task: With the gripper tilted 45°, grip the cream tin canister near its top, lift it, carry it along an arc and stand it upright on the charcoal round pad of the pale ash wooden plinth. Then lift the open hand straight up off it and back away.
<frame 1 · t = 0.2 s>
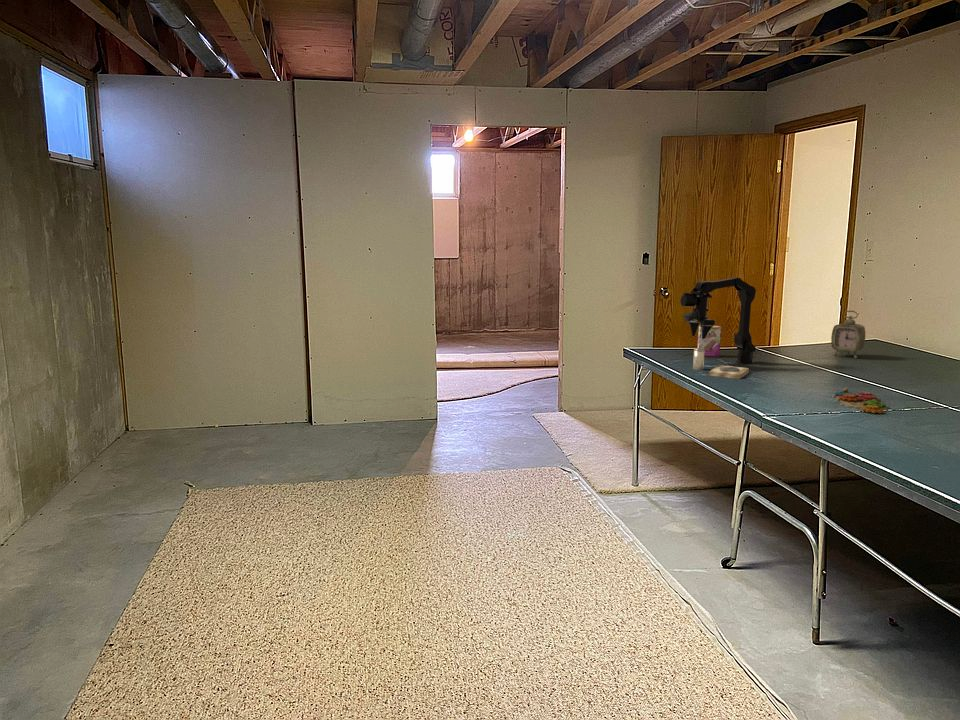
hand: (698, 337, 350), 14 cm above the table, tool pointing down, fingers open, 9 cm apart
tabletop clock: (846, 357, 375), on the table
plinth: (729, 373, 331), on the table
candy bar box: (708, 356, 378), on the table
canister: (698, 369, 343), on the table
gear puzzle: (860, 406, 274), on the table
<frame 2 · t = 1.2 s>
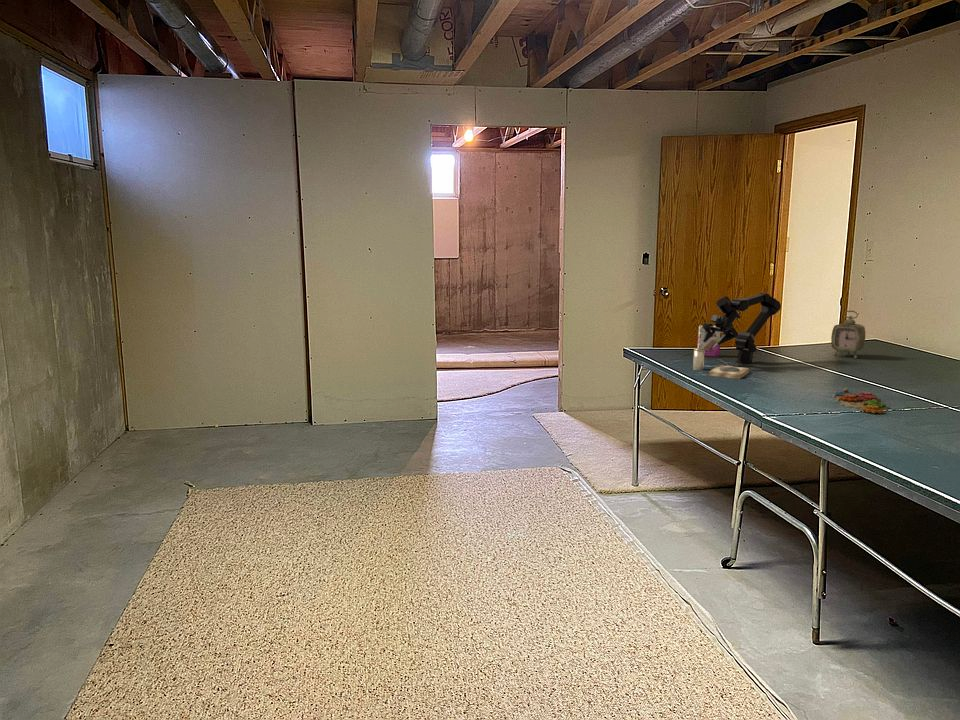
hand: (710, 343, 344), 12 cm above the table, tool tilted 45°, fingers open, 9 cm apart
nothing on the table moved.
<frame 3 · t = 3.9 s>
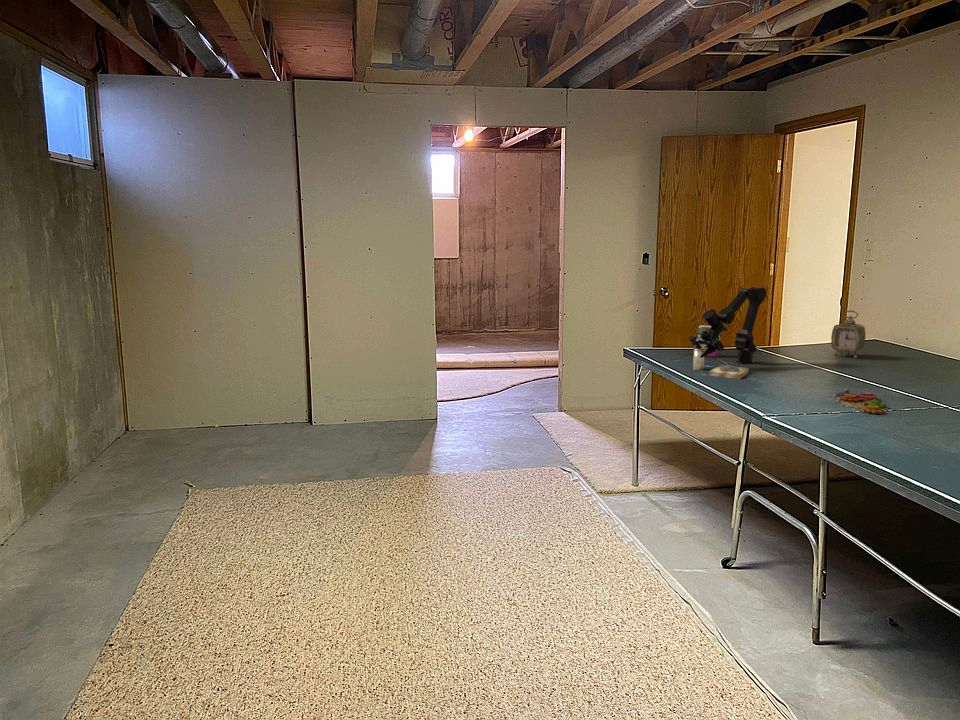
hand: (696, 356, 341), 7 cm above the table, tool tilted 45°, fingers closed on canister, 5 cm apart
canister: (698, 369, 343), on the table, touching gripper
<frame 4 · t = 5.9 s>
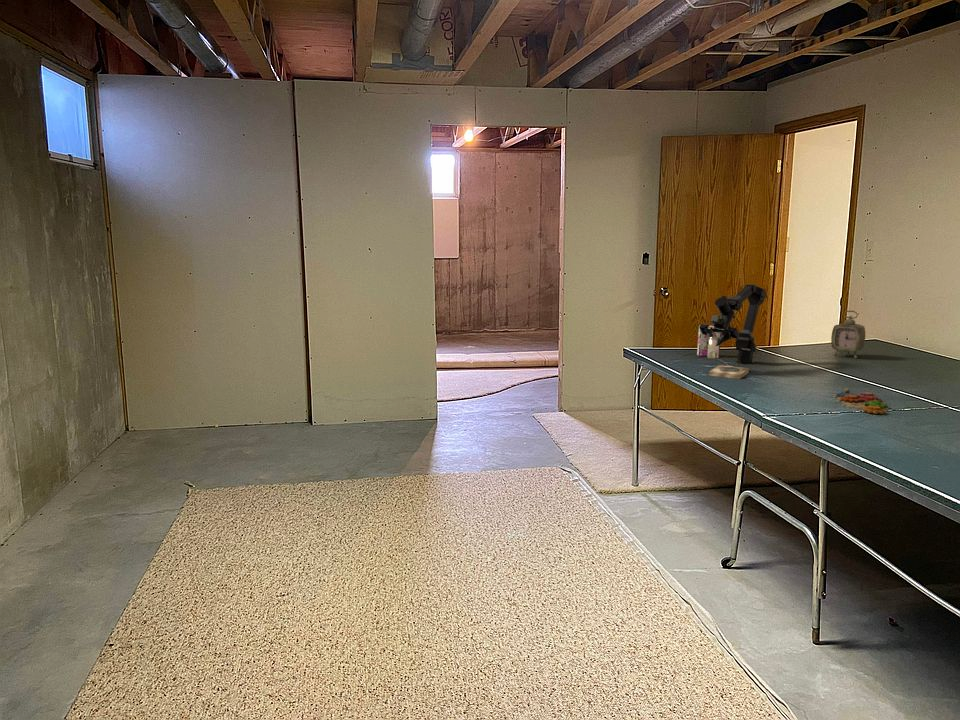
hand: (712, 344, 333), 13 cm above the table, tool tilted 45°, fingers closed on canister, 5 cm apart
canister: (712, 357, 335), point 7 cm above the table, touching gripper
when the fingers open (10 cm above the table, at t = 8.1 s): canister stays where it is, resting on plinth.
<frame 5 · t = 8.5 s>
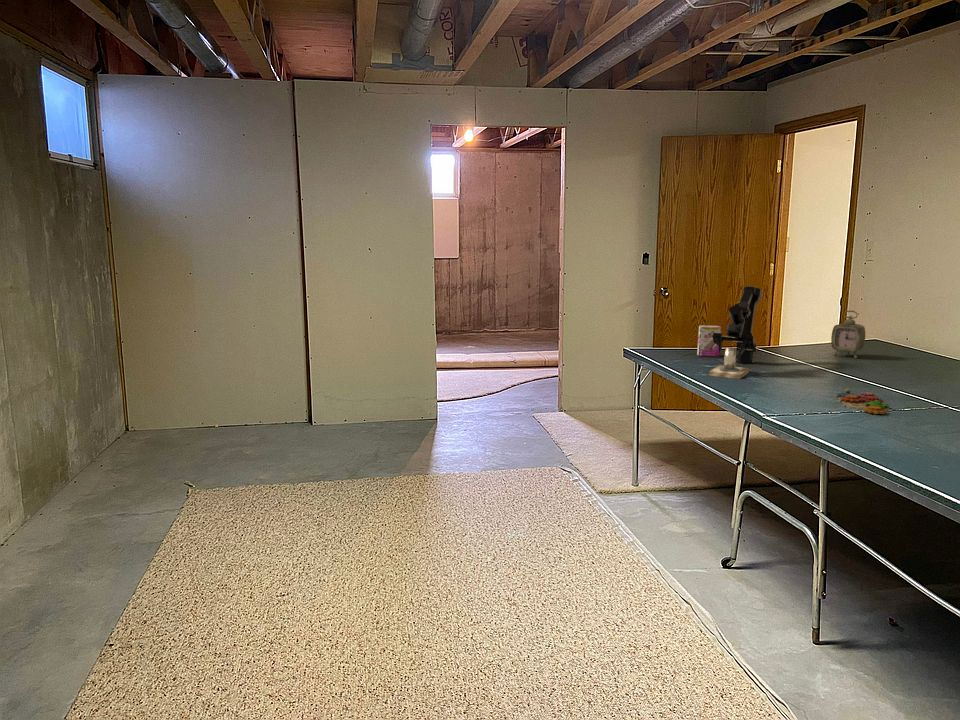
hand: (729, 353, 328), 10 cm above the table, tool tilted 45°, fingers open, 9 cm apart
canister: (729, 368, 331), point 3 cm above the table, touching plinth
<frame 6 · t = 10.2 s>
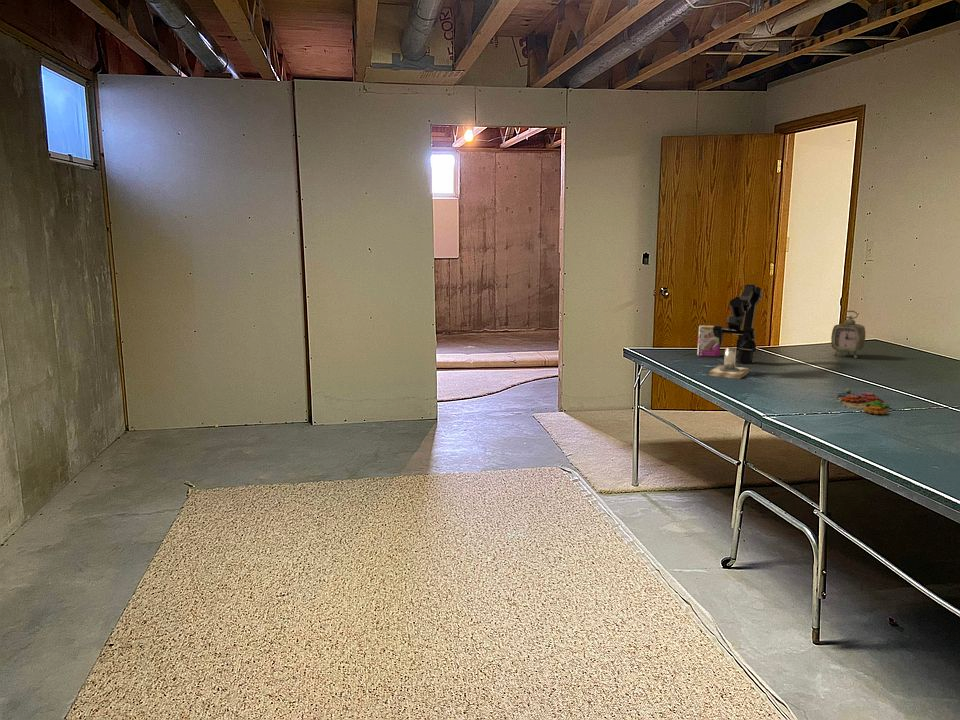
hand: (730, 346, 328), 14 cm above the table, tool tilted 45°, fingers open, 9 cm apart
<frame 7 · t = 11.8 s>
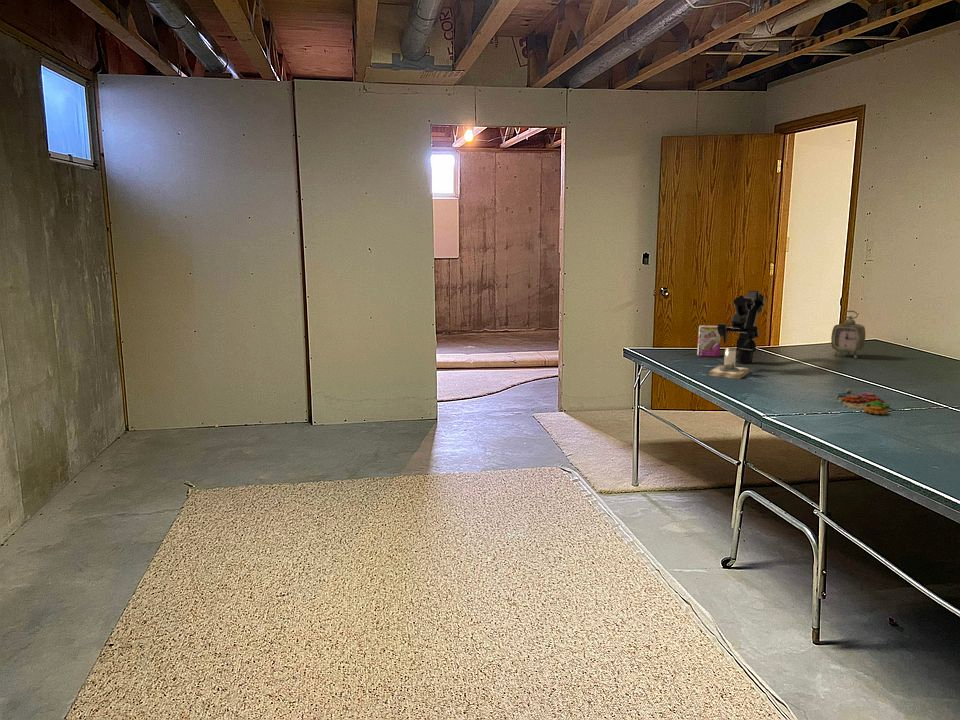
hand: (734, 344, 334), 13 cm above the table, tool tilted 45°, fingers open, 9 cm apart
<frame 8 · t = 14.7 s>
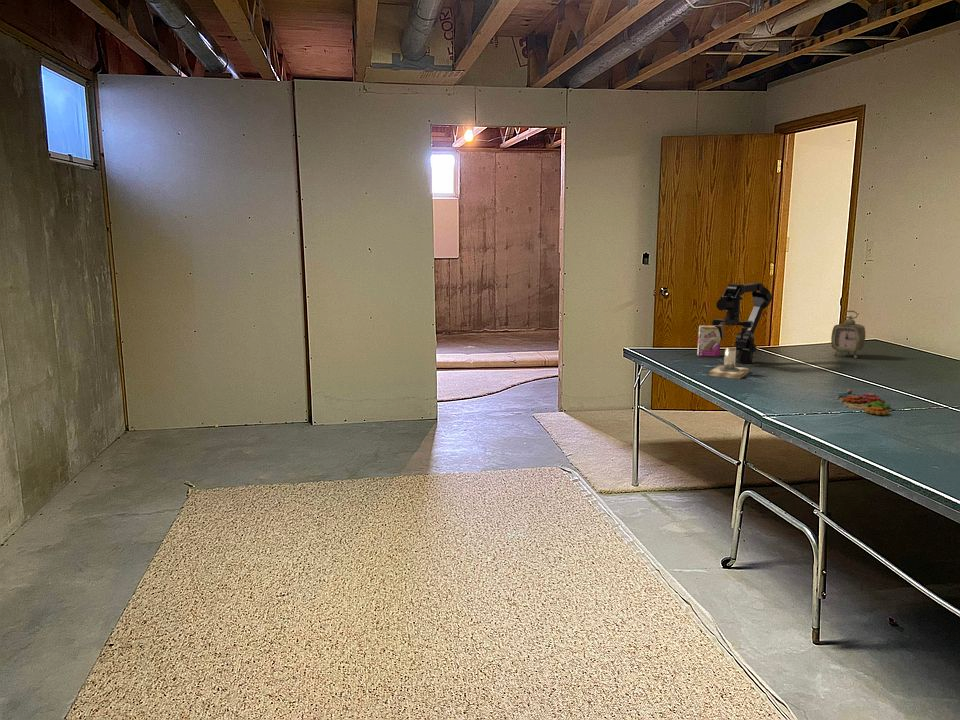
hand: (731, 340, 349), 13 cm above the table, tool pointing down, fingers open, 9 cm apart
at the end: canister 0.1 cm off-centre on the plinth, point 2.5 cm above the plinth's base; canister tilted 0°; canister touching plinth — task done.
